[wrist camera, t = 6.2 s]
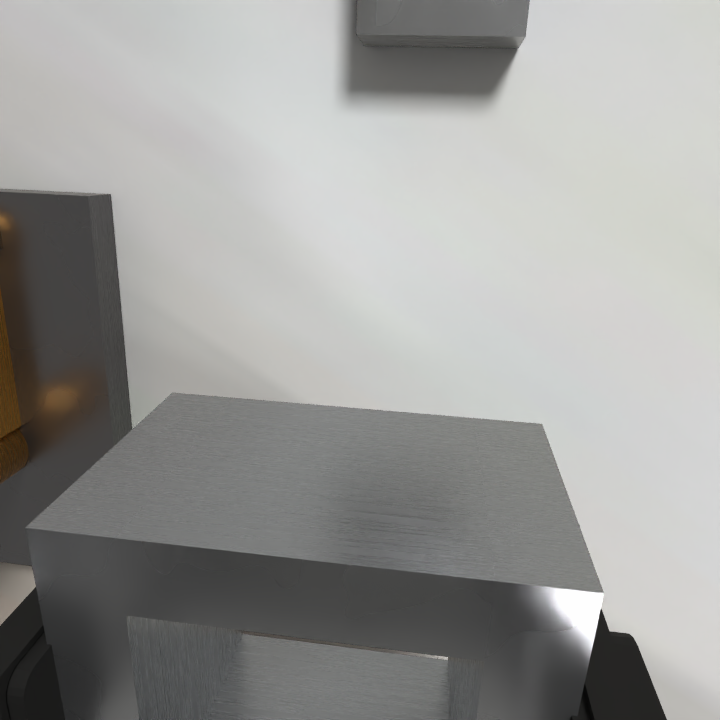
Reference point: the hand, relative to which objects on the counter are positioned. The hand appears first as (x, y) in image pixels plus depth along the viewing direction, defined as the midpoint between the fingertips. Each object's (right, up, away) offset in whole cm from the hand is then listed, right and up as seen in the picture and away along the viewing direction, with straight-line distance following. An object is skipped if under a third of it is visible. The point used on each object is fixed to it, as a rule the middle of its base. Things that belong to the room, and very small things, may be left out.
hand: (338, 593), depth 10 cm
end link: (0, 0, +1) cm, 1 cm away
